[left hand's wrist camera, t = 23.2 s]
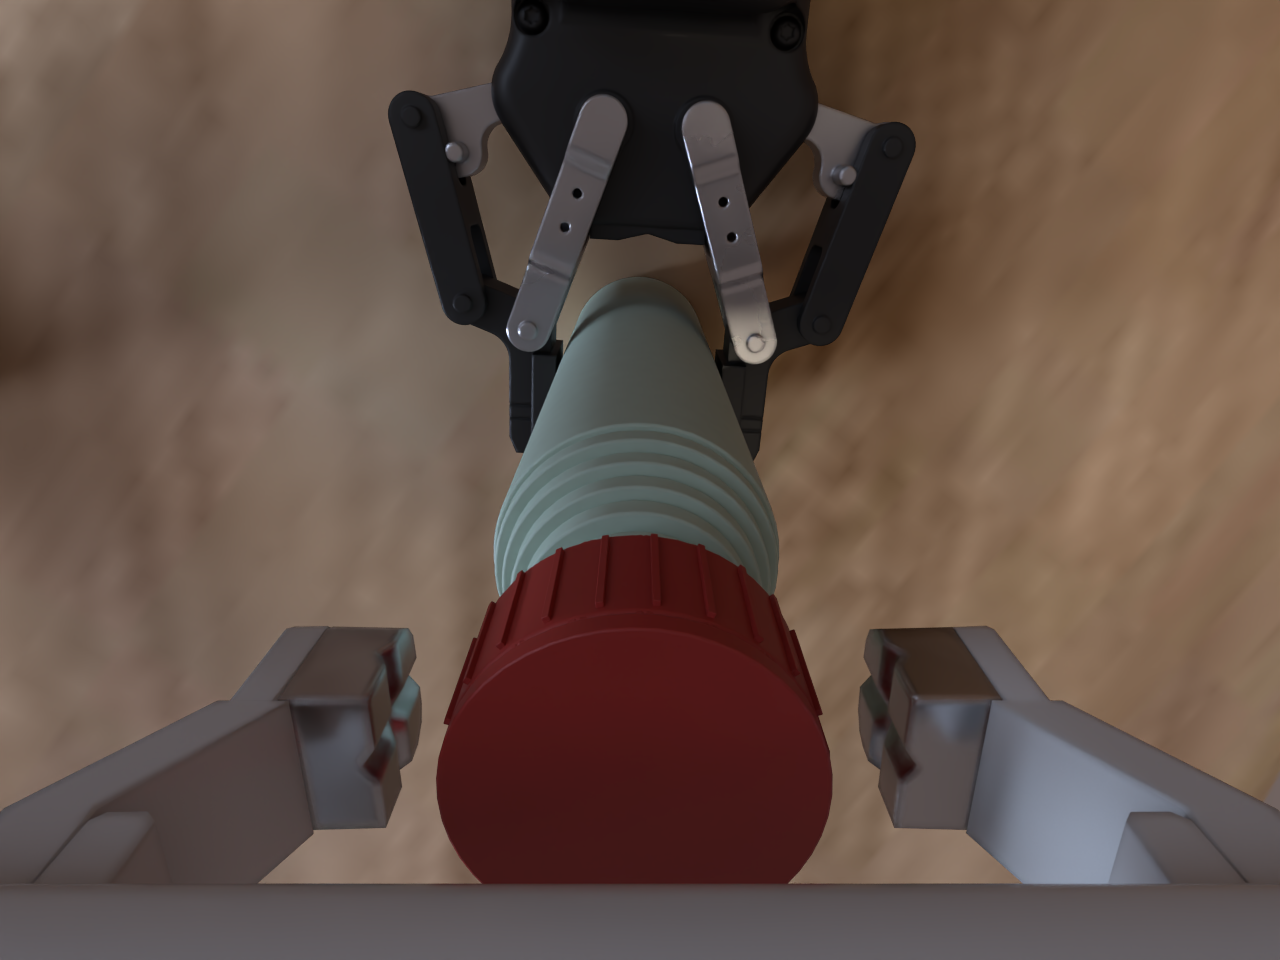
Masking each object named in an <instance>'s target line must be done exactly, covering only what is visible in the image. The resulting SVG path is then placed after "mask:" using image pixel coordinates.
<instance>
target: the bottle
mask: <svg viewBox="0 0 1280 960" xmlns="http://www.w3.org/2000/svg"><path fill="white" fill-rule="evenodd" d="M651 534H658V537H663V538H669V539H675V540H679V541H683V542H686V543H689V544H694V545H698V544H702V545H704V546H705V549H706V550H708V551H711V552H713V553H715V554H718V555H720V556H721V557H723V558H725V559H726V560H728V561H730V562H731V563H733V564H735V565H736V566H739V565H740V564H741V565H742V566H744V567H745V568H746V572H747V574H748V575H749V576H751V577H752V578H753V579H754V580H755V581H756V582H757V583H758V584H759V585H760V586H761V587H762V588H763V589H764V590H765V591H766V592H767V593H768V594H769V596H770V595H772V594H774V592H775V588H776V581H777V574H778V562H779V538H778V532H777V526H776V522H775V518H774V515H773V512H772V509H771V506H770V503H769V501H768V498H767V496H766V493H765V490H764V488H763V485H762V483H761V480H760V478H759V475H758V472H757V470H756V467H755V465H754V462H753V459H752V457H751V454H750V452H749V449H748V447H747V444H746V441H745V439H744V436H743V434H742V431H741V428H740V426H739V423H738V421H737V418H736V416H735V413H734V410H733V408H732V405H731V403H730V400H729V397H728V395H727V392H726V390H725V387H724V385H723V382H722V379H721V377H720V374H719V372H718V369H717V366H716V364H715V361H714V359H713V356H712V354H711V351H710V348H709V346H708V343H707V341H706V338H705V335H704V333H703V330H702V328H701V325H700V323H699V320H698V317H697V315H696V313H695V311H694V309H693V307H692V306H691V304H690V303H689V302H688V300H687V299H686V298H685V297H684V296H683V295H682V294H681V293H680V292H679V291H678V290H676V289H675V288H673V287H672V286H670V285H668V284H666V283H664V282H662V281H659V280H656V279H652V278H647V277H629V278H624V279H620V280H617V281H614V282H612V283H610V284H608V285H606V286H604V287H603V288H602V289H600V290H599V291H597V292H596V293H595V294H594V295H593V296H592V297H591V298H590V300H589V301H588V302H587V303H586V305H585V306H584V308H583V310H582V312H581V314H580V316H579V318H578V321H577V323H576V326H575V328H574V330H573V333H572V335H571V338H570V340H569V343H568V345H567V348H566V350H565V353H564V355H563V358H562V360H561V363H560V365H559V367H558V370H557V372H556V375H555V377H554V380H553V382H552V385H551V387H550V390H549V392H548V395H547V397H546V399H545V402H544V404H543V407H542V409H541V412H540V414H539V417H538V419H537V422H536V424H535V427H534V429H533V431H532V434H531V436H530V439H529V441H528V444H527V446H526V449H525V451H524V454H523V456H522V459H521V461H520V464H519V466H518V468H517V471H516V473H515V476H514V478H513V481H512V483H511V486H510V488H509V491H508V493H507V496H506V498H505V500H504V503H503V505H502V508H501V511H500V514H499V518H498V521H497V524H496V530H495V537H494V563H495V577H496V583H497V589H498V593H499V596H501V595H502V594H503V593H504V592H505V591H506V590H507V589H508V587H509V586H510V585H511V584H512V583H513V582H514V581H515V580H516V576H517V574H518V573H519V572H520V571H521V570H523V571H524V572H526V571H527V570H528V569H529V568H531V567H533V566H534V565H535V564H537V563H539V562H540V561H542V560H544V559H545V558H547V557H549V556H551V555H553V554H555V552H556V549H558V548H561V547H562V548H563V550H564V549H566V548H569V547H572V546H575V545H578V544H581V543H583V542H585V541H590V540H596V539H601V538H602V536H603V535H609V537H614V536H628V535H643V536H644V535H649V536H651Z"/></svg>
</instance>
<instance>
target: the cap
mask: <svg viewBox="0 0 1280 960" xmlns="http://www.w3.org/2000/svg"><path fill="white" fill-rule="evenodd" d="M822 714H823V713H822V710H821V707H820V704H819V701H818V698H817V695H816V692H815V689H814V686H813V683H812V680H811V677H810V674H809V671H808V668H807V665H806V662H805V659H804V656H803V653H802V650H801V647H800V644H799V641H798V639H797V636H796V633H795V630H790V631H789V628H788V626H787V624H786V622H785V620H784V618H783V616H782V614H781V610H780V607H779V604H778V601H777V598H776V597H775V596H774V594H772V595H770V596H769V594H768V593H767V592H766V591H765V590H764V589H763V588H762V587H761V586H760V585H759V584H758V583H757V582H756V581H755V580H754V579H753V578H752V577H751V576H749V575H748V574H747V572H746V568H745V567H744V566H742V565H741V564H740V565H739V566H736V565H735V564H733V563H731V562H730V561H728V560H726V559H725V558H723V557H721V556H720V555H718V554H715V553H713V552H711V551H708V550H706V549H705V546H704V545H702V544H698V545H694V544H689V543H686V542H683V541H679V540H675V539H669V538H663V537H658V534H651V536H649V535H644V536H643V535H628V536H614V537H609V535H603V536H602V538H601V539H596V540H590V541H585V542H583V543H581V544H578V545H575V546H572V547H569V548H566V549H564V550H563V548H562V547H561V548H558V549H556V552H555V554H553V555H551V556H549V557H547V558H545V559H544V560H542V561H540V562H539V563H537V564H535V565H534V566H533V567H531V568H529V569H528V570H527V571H526V572H524V571H523V570H521V571H520V572H519V573H518V574H517V576H516V580H515V581H514V582H513V583H512V584H511V585H510V586H509V587H508V589H507V590H506V591H505V592H504V593H503V594H502V595H501V596H500V598H499V599H498V601H497V602H496V603H494V602H493V601H492V602H491V603H490V604H489V606H488V609H487V612H486V615H485V618H484V621H483V624H482V626H481V629H480V632H479V635H478V638H473V640H472V643H471V646H470V649H469V652H468V655H467V657H466V660H465V663H464V666H463V669H462V672H461V674H460V677H459V680H458V683H457V686H456V688H455V691H454V694H453V697H452V700H451V703H450V705H449V708H448V711H447V714H446V717H445V720H444V724H447V725H449V726H448V729H447V732H446V735H445V737H444V741H443V744H442V748H441V751H440V755H439V759H438V767H437V776H436V785H437V800H438V805H439V810H440V814H441V819H442V822H443V825H444V827H445V830H446V832H447V835H448V837H449V840H450V842H451V843H452V845H453V847H454V849H455V850H456V852H457V854H458V856H459V857H460V859H461V860H462V861H463V863H464V864H465V865H466V866H467V868H468V869H469V870H470V872H471V873H472V874H473V875H474V876H475V877H476V878H477V879H478V880H479V881H480V882H481V883H482V884H788V883H789V882H790V881H791V879H792V878H793V877H794V876H795V875H796V874H797V873H798V872H799V871H800V870H801V868H802V867H803V866H804V864H805V863H806V862H807V860H808V859H809V857H810V856H811V855H812V853H813V851H814V849H815V847H816V845H817V844H818V842H819V840H820V838H821V836H822V833H823V830H824V827H825V825H826V822H827V819H828V816H829V810H830V805H831V799H832V775H833V774H832V768H831V762H830V751H829V748H828V744H827V741H826V738H825V735H824V732H823V729H822V726H821V723H820V720H819V717H818V716H819V715H822Z"/></svg>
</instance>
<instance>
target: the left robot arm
mask: <svg viewBox="0 0 1280 960" xmlns="http://www.w3.org/2000/svg"><path fill="white" fill-rule="evenodd" d="M415 660H416V651H415V645H414V638H413V635H412V633H411V632H410V630H409V629H408V628H378V627H329V626H301V627H291V628H287V629H286V630H285V631H284V632H283V633H282V635H281V636H280V637H279V638H278V640H277V641H276V642H275V644H274V645H273V646H272V647H271V649H270V650H269V651H268V653H267V654H266V655H265V656H264V658H263V659H262V660H261V662H260V663H259V664H258V665H257V667H256V668H255V669H254V671H253V672H252V673H251V674H250V676H249V677H248V678H247V679H246V681H245V682H244V683H243V685H242V686H241V687H240V688H239V690H238V691H237V692H236V694H235V695H234V696H233V697H232V699H231V700H230V701H216V702H214V703H212V704H210V705H208V706H206V707H204V708H202V709H200V710H198V711H196V712H194V713H192V714H190V715H188V716H186V717H184V718H182V719H180V720H178V721H176V722H174V723H172V724H170V725H168V726H166V727H164V728H162V729H160V730H158V731H156V732H154V733H152V734H150V735H148V736H146V737H144V738H143V739H141V740H139V741H137V742H135V743H133V744H131V745H129V746H127V747H125V748H123V749H121V750H119V751H117V752H115V753H113V754H111V755H109V756H107V757H105V758H103V759H101V760H99V761H97V762H95V763H93V764H91V765H89V766H87V767H85V768H83V769H81V770H79V771H77V772H75V773H73V774H71V775H69V776H67V777H65V778H63V779H61V780H59V781H57V782H55V783H53V784H51V785H49V786H47V787H45V788H43V789H41V790H39V791H37V792H35V793H33V794H31V795H29V796H27V797H25V798H23V799H21V800H20V801H18V802H16V803H14V804H12V805H10V806H8V807H6V808H4V809H3V810H2V811H1V812H0V960H1280V811H1279V810H1278V809H1276V808H1274V807H1272V806H1270V805H1268V804H1266V803H1264V802H1262V801H1260V800H1258V799H1256V798H1254V797H1252V796H1250V795H1248V794H1246V793H1244V792H1242V791H1240V790H1238V789H1236V788H1234V787H1232V786H1230V785H1228V784H1226V783H1224V782H1222V781H1220V780H1218V779H1216V778H1215V777H1213V776H1211V775H1209V774H1207V773H1205V772H1203V771H1201V770H1199V769H1197V768H1195V767H1193V766H1191V765H1189V764H1187V763H1185V762H1183V761H1181V760H1179V759H1177V758H1175V757H1173V756H1171V755H1169V754H1167V753H1165V752H1163V751H1161V750H1159V749H1157V748H1155V747H1153V746H1151V745H1149V744H1147V743H1145V742H1143V741H1141V740H1139V739H1137V738H1135V737H1133V736H1131V735H1129V734H1127V733H1126V732H1124V731H1122V730H1120V729H1118V728H1116V727H1114V726H1112V725H1110V724H1108V723H1106V722H1104V721H1102V720H1100V719H1098V718H1096V717H1094V716H1092V715H1090V714H1088V713H1086V712H1084V711H1082V710H1080V709H1078V708H1076V707H1074V706H1072V705H1070V704H1068V703H1066V702H1064V701H1050V700H1049V699H1048V697H1047V696H1046V695H1045V694H1044V692H1043V691H1042V690H1041V688H1040V687H1039V686H1038V685H1037V683H1036V682H1035V681H1034V680H1033V678H1032V677H1031V676H1030V674H1029V673H1028V672H1027V671H1026V669H1025V668H1024V667H1023V665H1022V664H1021V663H1020V662H1019V660H1018V659H1017V658H1016V657H1015V655H1014V654H1013V653H1012V651H1011V650H1010V649H1009V648H1008V646H1007V645H1006V644H1005V643H1004V641H1003V640H1002V639H1001V637H1000V636H999V635H998V634H997V632H996V631H995V630H994V629H992V628H990V627H988V626H967V627H939V628H899V629H871V630H869V633H868V636H867V639H866V643H865V651H864V660H865V662H866V664H867V666H868V669H869V671H870V673H871V676H870V677H869V678H868V679H867V680H866V681H865V682H864V683H863V684H862V685H861V687H860V693H859V705H858V716H859V731H860V736H861V740H862V745H863V748H864V751H865V754H866V756H867V759H868V761H869V762H870V763H872V764H873V765H874V766H876V767H877V768H879V769H880V776H879V784H878V788H879V790H880V793H881V795H882V798H883V800H884V803H885V805H886V808H887V810H888V813H889V816H890V818H891V821H892V823H893V826H894V828H919V829H955V830H967V832H966V833H967V834H968V835H969V836H970V837H971V838H972V839H974V840H975V841H976V842H977V843H978V844H979V845H980V846H981V847H983V848H984V849H985V850H986V851H987V852H988V853H989V854H990V855H992V856H993V857H994V858H995V859H996V860H997V861H998V862H999V863H1001V864H1002V865H1003V866H1004V867H1005V868H1006V869H1007V870H1009V871H1010V872H1011V873H1012V874H1013V875H1014V876H1015V877H1016V878H1018V879H1019V880H1020V881H1021V882H1022V883H1023V884H257V883H258V882H259V881H261V880H262V879H263V878H264V877H265V876H266V875H267V874H269V873H270V872H271V871H272V870H273V869H274V868H275V867H276V866H278V865H279V864H280V863H281V862H282V861H283V860H284V859H285V858H287V857H288V856H289V855H290V854H291V853H292V852H293V851H295V850H296V849H297V848H298V847H299V846H300V845H301V844H302V843H304V842H305V841H306V840H307V839H308V838H309V837H310V836H312V835H313V830H324V829H360V828H386V826H387V824H388V821H389V818H390V816H391V813H392V811H393V808H394V806H395V803H396V801H397V798H398V796H399V793H400V791H401V788H402V783H401V775H400V769H402V768H403V767H404V766H406V765H407V764H408V763H410V762H411V761H412V759H413V757H414V754H415V751H416V748H417V745H418V741H419V735H420V729H421V723H422V701H421V692H420V686H419V685H418V684H417V683H416V682H415V681H414V680H413V679H412V678H411V677H410V676H409V673H410V671H411V669H412V667H413V664H414V662H415Z"/></svg>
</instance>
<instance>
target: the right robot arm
mask: <svg viewBox="0 0 1280 960" xmlns="http://www.w3.org/2000/svg"><path fill="white" fill-rule="evenodd" d="M809 7H810V0H512V16H511V28H510V33H509V38H508V42H507V45H506V47H505V50H504V53H503V55H502V57H501V59H500V61H499V62H498V64H497V66H496V68H495V71H494V74H493V78H492V83H488V84H484V85H479V86H475V87H470V88H466V89H461V90H457V91H452V92H448V93H443V94H439V95H434V96H428V95H425V94H422V93H419V92H416V91H403V92H401V93H399V94H397V95H396V96H395V97H394V98H393V99H392V101H391V103H390V105H389V109H388V118H389V123H390V126H391V130H392V133H393V137H394V140H395V144H396V147H397V151H398V154H399V158H400V161H401V165H402V168H403V172H404V175H405V179H406V182H407V186H408V189H409V193H410V196H411V200H412V203H413V207H414V211H415V214H416V218H417V221H418V225H419V228H420V232H421V235H422V239H423V242H424V246H425V249H426V253H427V256H428V260H429V263H430V267H431V270H432V274H433V277H434V281H435V284H436V288H437V291H438V295H439V298H440V302H441V305H442V308H443V311H444V313H445V315H446V316H447V317H448V318H449V319H450V320H451V321H453V322H455V323H457V324H461V325H469V324H471V325H473V326H476V327H478V328H480V329H483V330H485V331H488V332H490V333H492V334H494V335H496V336H497V337H499V338H500V339H501V340H502V342H503V343H504V344H505V346H506V348H507V350H508V353H509V403H510V438H511V441H512V443H513V446H514V448H515V451H516V452H518V453H524V451H525V449H526V446H527V444H528V441H529V439H530V436H531V434H532V431H533V429H534V427H535V424H536V422H537V419H538V417H539V414H540V412H541V409H542V407H543V404H544V402H545V399H546V397H547V395H548V392H549V390H550V387H551V385H552V382H553V380H554V377H555V375H556V372H557V370H558V367H559V365H560V363H561V360H562V358H563V340H556V324H557V321H558V318H559V316H560V313H561V310H562V308H563V305H564V303H565V300H566V297H567V295H568V292H569V289H570V287H571V284H572V281H573V279H574V276H575V274H576V271H577V269H578V266H579V264H580V261H581V259H582V256H583V254H584V251H585V248H586V246H587V243H588V240H589V238H591V239H608V240H621V239H626V238H630V237H635V236H639V235H644V234H650V235H653V236H656V237H659V238H662V239H665V240H668V241H671V242H674V243H677V244H694V245H703V247H704V251H705V255H706V259H707V263H708V267H709V270H710V273H711V277H712V280H713V284H714V287H715V291H716V295H717V299H718V303H719V307H720V311H721V315H722V319H723V323H724V327H725V336H724V347H723V350H718V349H716V354H715V364H716V366H717V369H718V372H719V374H720V377H721V379H722V382H723V385H724V387H725V390H726V392H727V395H728V397H729V400H730V403H731V405H732V408H733V410H734V413H735V416H736V418H737V421H738V423H739V426H740V428H741V431H742V434H743V436H744V439H745V441H746V444H747V447H748V449H749V452H750V454H751V457H752V459H753V461H754V459H755V457H756V455H757V453H758V451H759V448H760V439H761V430H762V422H763V413H764V405H765V396H766V387H767V379H768V372H769V368H770V366H771V364H772V362H773V361H774V360H775V359H776V358H777V357H778V356H779V355H780V354H782V353H783V352H785V351H788V350H791V349H794V348H798V347H801V346H805V345H808V344H812V345H816V346H824V345H828V344H830V343H832V342H833V341H835V340H836V339H837V338H838V336H839V335H840V333H841V331H842V329H843V326H844V324H845V321H846V319H847V317H848V314H849V312H850V309H851V307H852V304H853V302H854V299H855V297H856V295H857V292H858V290H859V287H860V285H861V282H862V280H863V277H864V275H865V273H866V270H867V268H868V265H869V263H870V260H871V258H872V255H873V253H874V250H875V248H876V246H877V243H878V241H879V238H880V236H881V233H882V231H883V228H884V226H885V224H886V221H887V219H888V216H889V214H890V211H891V209H892V206H893V204H894V202H895V199H896V197H897V194H898V192H899V189H900V187H901V184H902V182H903V180H904V177H905V175H906V172H907V170H908V167H909V165H910V162H911V160H912V158H913V155H914V152H915V147H916V142H915V137H914V134H913V132H912V131H911V129H910V128H909V127H908V126H906V125H905V124H903V123H900V122H883V123H873V122H870V121H867V120H864V119H861V118H859V117H856V116H853V115H850V114H848V113H845V112H842V111H839V110H836V109H834V108H831V107H828V106H825V105H822V104H820V103H818V94H817V89H816V86H815V84H814V81H813V79H812V76H811V73H810V70H809V66H808V61H807V54H806V34H807V24H808V15H809ZM501 123H502V124H503V126H504V127H505V129H506V130H507V132H508V133H509V135H510V136H511V138H512V140H513V141H514V143H515V144H516V146H517V147H518V149H519V150H520V152H521V153H522V155H523V157H524V158H525V160H526V161H527V163H528V164H529V166H530V167H531V169H532V170H533V172H534V174H535V175H536V177H537V178H538V180H539V181H540V183H541V184H542V186H543V188H544V189H545V191H546V192H547V194H548V195H549V197H550V200H549V202H548V205H547V208H546V211H545V214H544V217H543V219H542V222H541V225H540V228H539V231H538V233H537V236H536V239H535V242H534V245H533V248H532V251H531V254H530V257H529V262H528V266H527V269H526V272H525V275H524V278H523V281H522V283H521V286H520V289H517V288H515V287H513V286H510V285H508V284H506V283H503V282H501V281H499V280H497V278H496V274H495V270H494V266H493V263H492V259H491V255H490V251H489V247H488V243H487V239H486V235H485V231H484V227H483V224H482V220H481V216H480V212H479V208H478V204H477V200H476V196H475V192H474V189H473V185H472V181H471V177H470V176H474V175H476V174H478V173H480V172H481V171H482V170H483V169H484V167H485V166H486V163H487V160H488V148H487V142H488V138H489V135H490V133H491V131H492V130H493V129H494V128H495V127H496V126H497V125H499V124H501ZM803 142H804V143H806V144H807V145H808V146H809V147H810V148H811V150H812V152H813V155H814V160H815V165H814V170H813V177H812V178H813V184H814V186H815V188H816V190H817V191H818V192H819V193H820V194H821V195H822V196H825V197H827V199H826V201H825V204H824V207H823V209H822V212H821V214H820V217H819V220H818V222H817V225H816V228H815V230H814V233H813V236H812V238H811V241H810V243H809V246H808V249H807V251H806V254H805V257H804V259H803V262H802V265H801V267H800V270H799V272H798V275H797V278H796V280H795V283H794V286H793V288H792V291H791V294H790V296H789V297H786V298H783V299H780V300H776V301H773V302H770V303H768V299H767V294H766V290H765V286H764V281H763V269H762V263H761V259H760V254H759V250H758V246H757V241H756V237H755V232H754V228H753V224H752V219H751V215H750V211H749V208H750V207H751V205H752V204H753V203H754V202H755V200H756V199H757V198H758V197H759V196H760V194H761V193H762V192H763V191H764V189H765V188H766V187H767V186H768V185H769V183H770V182H771V181H772V180H773V178H774V177H775V176H776V175H777V174H778V172H779V171H780V170H781V169H782V167H783V166H784V165H785V164H786V163H787V161H788V160H789V159H790V158H791V156H792V155H793V154H794V153H795V152H796V150H797V149H798V148H799V147H800V145H801V144H802V143H803Z"/></svg>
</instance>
